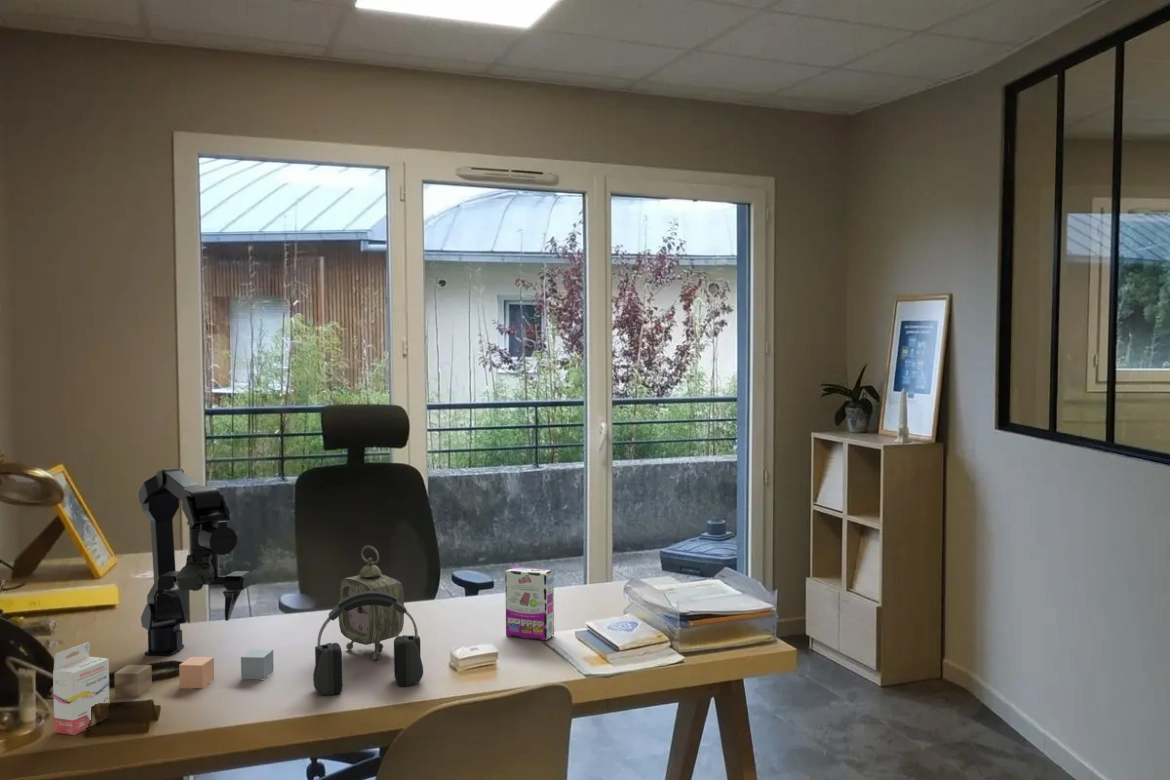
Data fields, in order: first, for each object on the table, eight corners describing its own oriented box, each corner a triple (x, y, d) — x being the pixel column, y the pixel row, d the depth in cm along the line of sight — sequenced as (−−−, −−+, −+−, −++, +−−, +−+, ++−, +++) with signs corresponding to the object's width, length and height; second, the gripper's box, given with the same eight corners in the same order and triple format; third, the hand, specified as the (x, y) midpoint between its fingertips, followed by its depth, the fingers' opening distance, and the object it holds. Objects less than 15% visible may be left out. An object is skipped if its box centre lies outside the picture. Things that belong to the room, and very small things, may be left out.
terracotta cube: (179, 688, 191) (179, 664, 191) (191, 680, 196) (191, 656, 196) (202, 689, 190) (202, 665, 190) (214, 680, 195) (213, 657, 195)
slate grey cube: (241, 680, 195) (240, 657, 195) (251, 671, 200) (250, 649, 200) (264, 680, 195) (263, 657, 195) (273, 672, 200) (273, 649, 200)
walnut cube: (114, 697, 186) (114, 673, 186) (128, 688, 191) (128, 664, 191) (138, 698, 186) (138, 673, 185) (152, 688, 191) (151, 665, 190)
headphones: (314, 699, 185) (312, 601, 184) (312, 688, 191) (311, 593, 190) (424, 685, 192) (423, 591, 191) (420, 675, 198) (419, 584, 197)
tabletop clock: (338, 650, 214) (336, 544, 213) (371, 641, 221) (370, 538, 220) (374, 664, 205) (372, 553, 204) (407, 654, 211) (406, 547, 210)
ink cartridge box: (74, 736, 167) (72, 656, 166) (53, 733, 168) (50, 654, 168) (111, 718, 175) (109, 642, 175) (90, 715, 177) (88, 640, 176)
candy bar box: (555, 635, 225) (554, 569, 224) (546, 641, 220) (546, 574, 219) (514, 630, 229) (513, 565, 228) (504, 636, 224) (504, 570, 224)
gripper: (141, 556, 188) (143, 631, 188) (230, 556, 187) (232, 631, 187) (168, 545, 199) (170, 616, 199) (253, 544, 198) (254, 616, 198)
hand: (206, 620), depth 196 cm, fingers open, 9 cm apart
